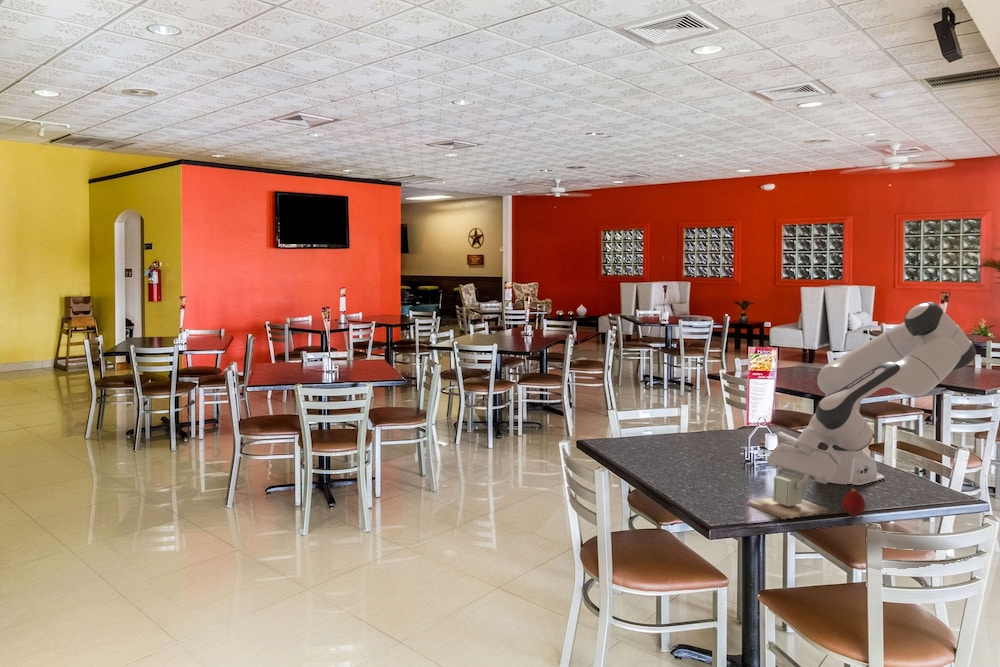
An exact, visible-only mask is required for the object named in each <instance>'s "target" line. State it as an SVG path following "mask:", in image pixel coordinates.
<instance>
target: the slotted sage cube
mask: <svg viewBox="0 0 1000 667" xmlns="http://www.w3.org/2000/svg"><path fill="white" fill-rule="evenodd" d="M802 479H803V478H802V477H799V476H794V475H793V474H789V473H786V474H782V475H780V476H776V475H775V476H774V477H773V496H772V498H773V501H774V502H777V503H780V504H783V505H786V506H793V505H798V504H802V499H803V489H802V490H801V491H800V490H797V489H795V487H794V485H795V484H796V482H797V481H798V482H800V481H801V480H802Z"/></svg>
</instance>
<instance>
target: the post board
mask: <svg viewBox="0 0 1000 667" xmlns="http://www.w3.org/2000/svg"><path fill="white" fill-rule="evenodd" d="M747 504H748V505H749V506H751V507H753V508H756V509H758V510H760V511H763V512H765V513H766V514H769V513H770V514H769V515H771V514H772V516H774V515H775V516H774V517H776V516H777V517H776V518H778V517H780V518H782V519H781V520H783V519H784V520H787V519H786V518H790V519H795V517H797V518H802V517H808V516H809V515H810V516H814V515H813V514H816V515H820V514H819V513H823V512H828V513H829V510H828V508H826V507H823V506H822V505H821V506H820V505H818V504H816V503H813V502H811V501H808V500H806V499H803V498H802V504H798V505H793V506H786V505H783V504H780V503H777V502H774V501H773V497H769V498H760V499H753V500H752V499H751V500H748V503H747ZM823 514H824V513H823ZM801 516H802V517H801ZM793 517H794V518H793ZM780 518H779V519H780Z"/></svg>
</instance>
